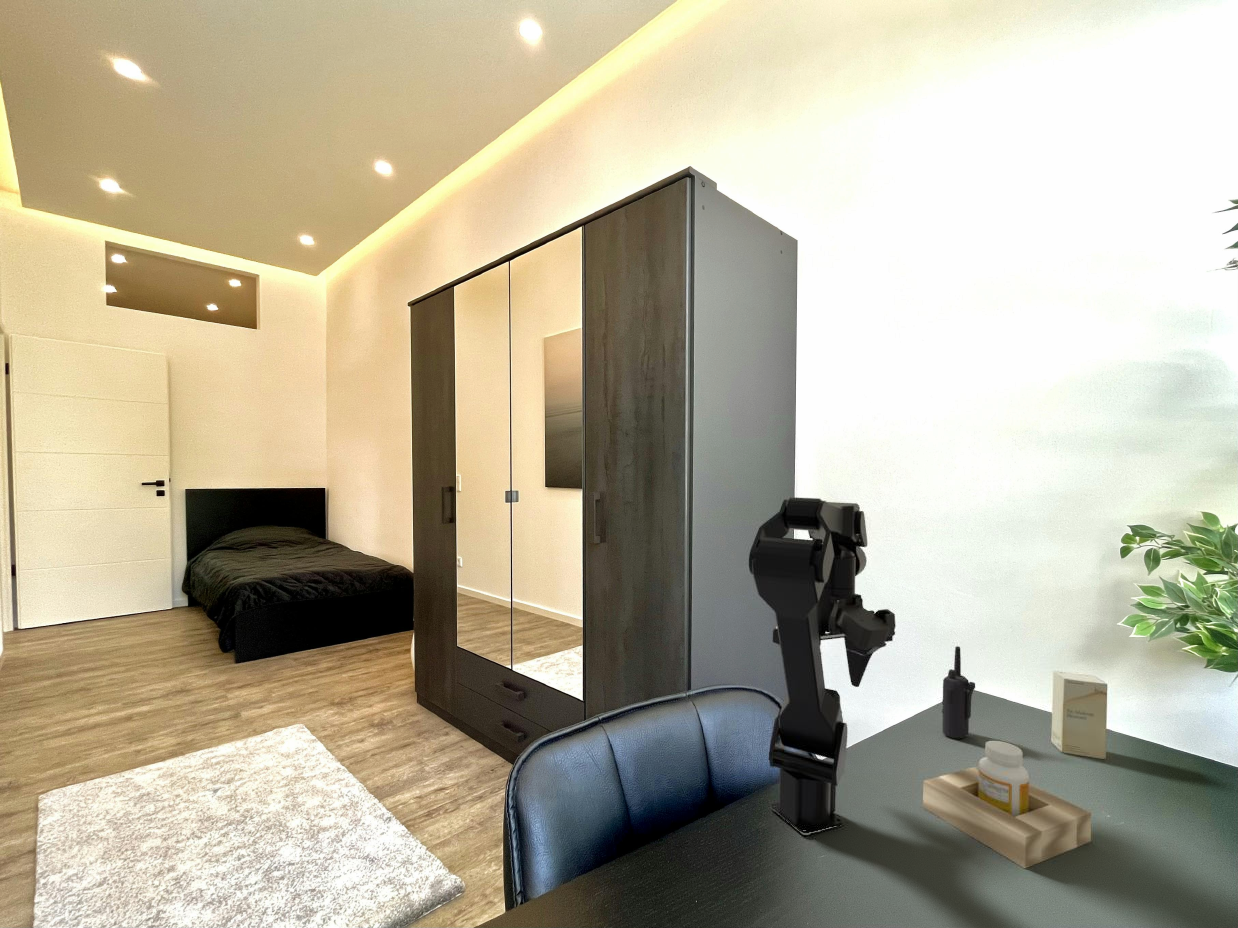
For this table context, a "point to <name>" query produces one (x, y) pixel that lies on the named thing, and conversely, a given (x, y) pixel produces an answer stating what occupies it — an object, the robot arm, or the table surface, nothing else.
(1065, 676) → the skincare box
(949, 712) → the two-way radio
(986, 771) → the supplement bottle
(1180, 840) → the table surface
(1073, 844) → the socket block
